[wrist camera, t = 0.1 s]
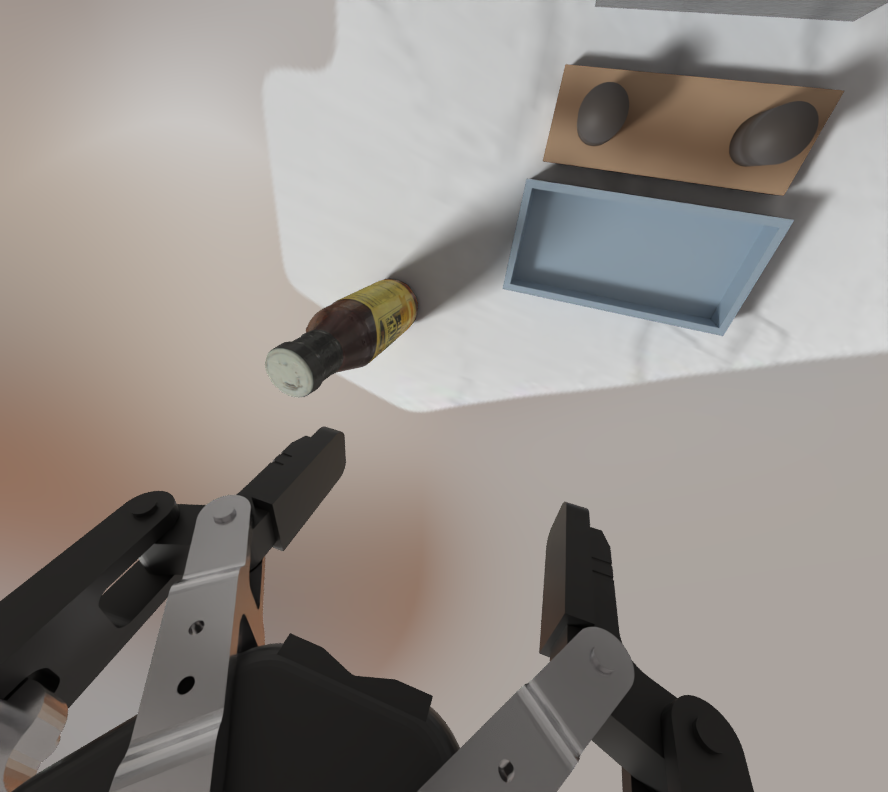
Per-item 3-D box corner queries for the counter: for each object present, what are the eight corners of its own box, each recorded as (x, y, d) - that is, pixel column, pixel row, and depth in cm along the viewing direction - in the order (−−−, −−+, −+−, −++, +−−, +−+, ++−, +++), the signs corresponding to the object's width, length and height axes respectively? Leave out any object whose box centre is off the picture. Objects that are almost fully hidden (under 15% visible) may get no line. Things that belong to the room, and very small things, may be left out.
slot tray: (530, 178, 32) (526, 178, 29) (774, 216, 28) (794, 220, 26) (507, 281, 37) (502, 288, 34) (711, 324, 33) (723, 336, 31)
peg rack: (565, 69, 27) (564, 47, 23) (830, 95, 24) (890, 75, 20) (543, 161, 31) (539, 158, 26) (774, 194, 27) (813, 197, 23)
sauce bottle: (404, 338, 44) (307, 431, 28) (364, 306, 43) (240, 382, 27) (432, 297, 40) (338, 377, 24) (388, 261, 39) (261, 319, 23)
